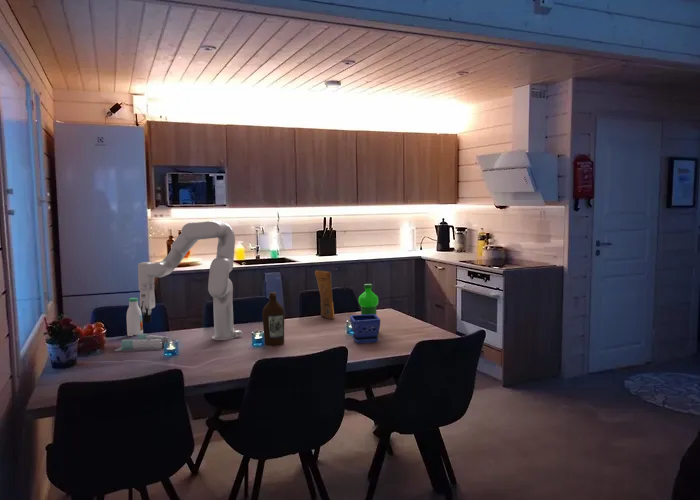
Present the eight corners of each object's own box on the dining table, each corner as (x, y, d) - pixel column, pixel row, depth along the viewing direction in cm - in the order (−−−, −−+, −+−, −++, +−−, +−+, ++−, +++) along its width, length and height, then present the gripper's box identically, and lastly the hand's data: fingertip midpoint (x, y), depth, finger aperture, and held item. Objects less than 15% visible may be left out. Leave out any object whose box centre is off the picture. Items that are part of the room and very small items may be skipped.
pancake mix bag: (327, 320, 320) (325, 272, 318) (315, 314, 337) (313, 269, 335) (337, 318, 323) (336, 271, 321) (325, 313, 340) (324, 268, 338)
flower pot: (381, 343, 261) (381, 318, 260) (354, 345, 259) (353, 320, 258) (375, 337, 274) (375, 313, 273) (349, 339, 272) (349, 315, 271)
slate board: (181, 340, 277) (181, 339, 277) (169, 350, 257) (169, 349, 257) (129, 342, 277) (129, 340, 277) (113, 352, 257) (113, 351, 257)
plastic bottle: (362, 335, 280) (360, 286, 278) (357, 330, 290) (356, 283, 288) (381, 333, 282) (380, 285, 280) (376, 329, 292) (374, 282, 290)
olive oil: (260, 343, 268) (258, 292, 266) (281, 340, 273) (279, 290, 271) (266, 347, 259) (264, 295, 257) (288, 344, 263) (286, 293, 261)
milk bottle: (137, 337, 288) (135, 299, 287) (124, 337, 290) (122, 299, 288) (145, 333, 296) (143, 297, 294) (133, 333, 297) (130, 297, 296)
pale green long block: (168, 346, 262) (168, 336, 262) (166, 348, 259) (165, 338, 258) (124, 348, 262) (123, 337, 261) (121, 350, 258) (120, 339, 258)
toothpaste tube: (171, 345, 266) (170, 336, 265) (166, 346, 263) (165, 337, 262) (142, 341, 274) (142, 333, 274) (137, 343, 271) (136, 334, 271)
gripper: (149, 288, 271) (150, 325, 272) (158, 284, 286) (159, 319, 287) (133, 288, 270) (134, 325, 272) (144, 284, 285) (145, 319, 287)
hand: (147, 322), depth 279 cm, fingers closed
